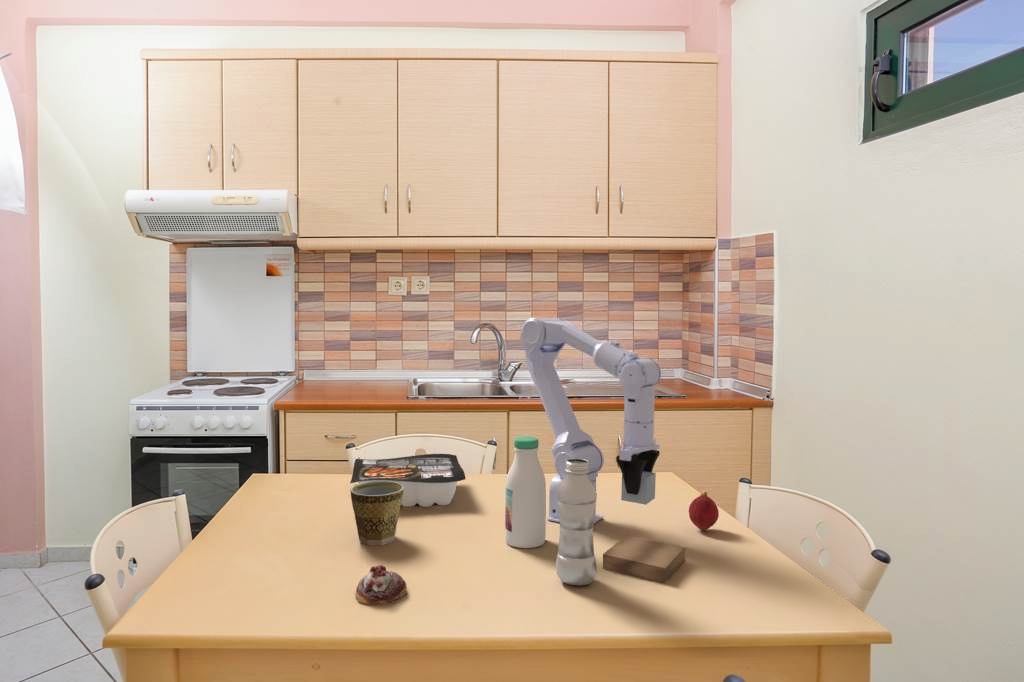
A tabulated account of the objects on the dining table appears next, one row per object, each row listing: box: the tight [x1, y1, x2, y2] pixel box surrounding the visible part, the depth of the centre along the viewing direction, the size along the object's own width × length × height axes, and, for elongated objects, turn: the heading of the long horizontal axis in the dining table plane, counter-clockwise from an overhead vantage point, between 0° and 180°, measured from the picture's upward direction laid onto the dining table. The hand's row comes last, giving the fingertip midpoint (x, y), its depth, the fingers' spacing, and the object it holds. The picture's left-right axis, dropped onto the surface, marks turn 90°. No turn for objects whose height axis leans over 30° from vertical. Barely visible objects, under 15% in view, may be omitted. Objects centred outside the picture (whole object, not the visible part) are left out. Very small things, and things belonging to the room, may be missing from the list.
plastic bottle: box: [555, 459, 598, 586], centre depth 105 cm, size 6×7×20 cm
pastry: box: [354, 564, 408, 606], centre depth 101 cm, size 8×8×5 cm
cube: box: [620, 471, 657, 506], centre depth 126 cm, size 5×5×5 cm
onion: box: [688, 490, 720, 532], centre depth 131 cm, size 6×6×8 cm
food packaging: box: [349, 453, 467, 508], centre depth 153 cm, size 25×8×23 cm
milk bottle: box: [504, 436, 547, 549], centre depth 123 cm, size 8×8×20 cm
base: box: [602, 534, 686, 584], centre depth 113 cm, size 11×11×2 cm
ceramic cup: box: [349, 481, 404, 546], centre depth 125 cm, size 13×10×10 cm
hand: (637, 490), depth 126 cm, fingers closed on cube, 5 cm apart
